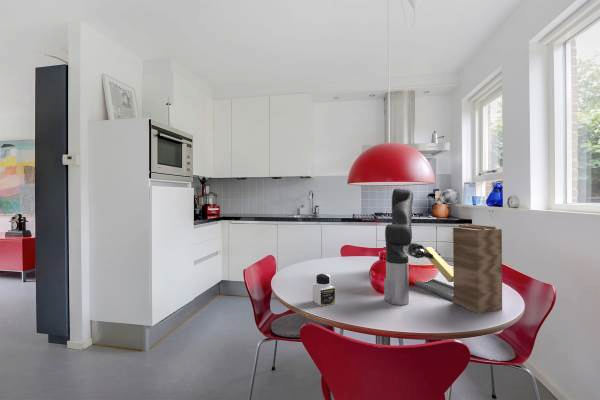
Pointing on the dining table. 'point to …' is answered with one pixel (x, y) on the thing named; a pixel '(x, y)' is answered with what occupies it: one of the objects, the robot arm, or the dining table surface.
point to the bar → (441, 265)
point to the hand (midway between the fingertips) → (436, 256)
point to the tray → (438, 288)
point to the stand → (477, 267)
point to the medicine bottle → (323, 290)
